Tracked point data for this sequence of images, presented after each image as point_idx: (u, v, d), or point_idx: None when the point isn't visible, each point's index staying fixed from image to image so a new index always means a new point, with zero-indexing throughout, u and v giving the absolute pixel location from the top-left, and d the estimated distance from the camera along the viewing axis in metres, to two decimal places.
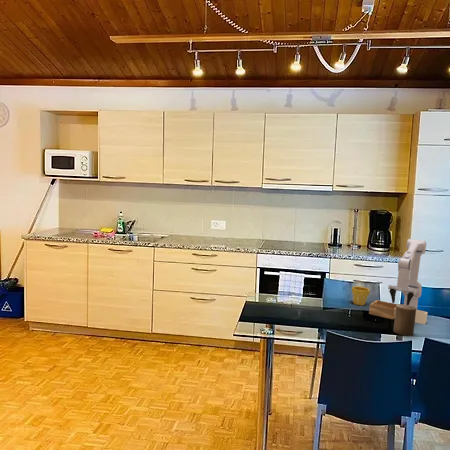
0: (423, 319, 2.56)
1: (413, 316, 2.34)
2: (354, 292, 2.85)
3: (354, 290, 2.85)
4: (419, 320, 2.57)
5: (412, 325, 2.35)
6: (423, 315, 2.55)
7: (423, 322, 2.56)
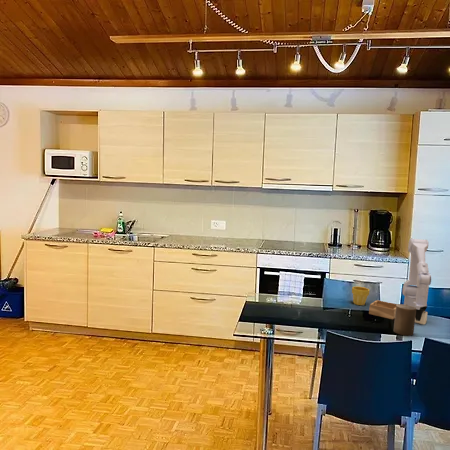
0: (423, 319, 2.56)
1: (413, 316, 2.34)
2: (354, 292, 2.85)
3: (354, 290, 2.85)
4: None
5: (412, 325, 2.35)
6: (423, 315, 2.55)
7: (423, 322, 2.56)
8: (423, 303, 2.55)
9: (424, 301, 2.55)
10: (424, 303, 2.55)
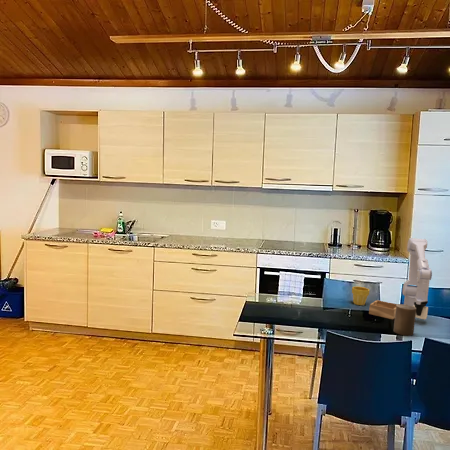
0: (424, 314, 2.55)
1: (413, 316, 2.34)
2: (354, 292, 2.85)
3: (354, 290, 2.85)
4: None
5: (412, 325, 2.35)
6: (424, 310, 2.55)
7: (424, 317, 2.55)
8: (424, 298, 2.55)
9: (425, 296, 2.55)
10: (425, 298, 2.55)
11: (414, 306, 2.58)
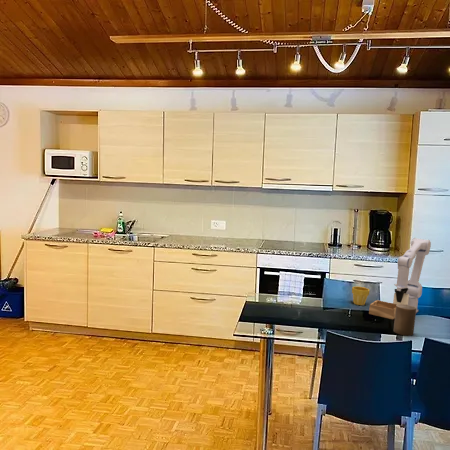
0: (405, 301, 2.61)
1: (413, 316, 2.34)
2: (354, 292, 2.85)
3: (354, 290, 2.85)
4: (401, 302, 2.62)
5: (412, 325, 2.35)
6: (405, 297, 2.60)
7: (405, 304, 2.61)
8: (404, 285, 2.61)
9: (405, 283, 2.60)
10: (405, 285, 2.61)
11: (395, 293, 2.63)
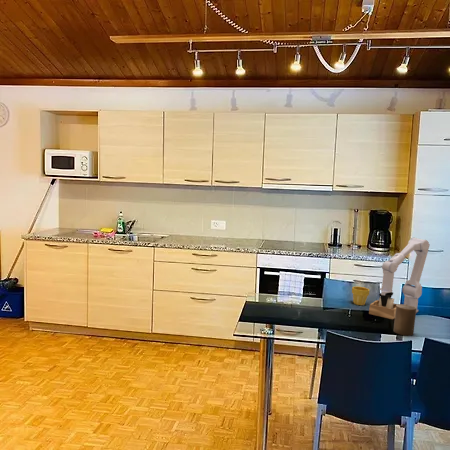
0: (389, 305, 2.65)
1: (413, 316, 2.34)
2: (354, 292, 2.85)
3: (354, 290, 2.85)
4: (386, 306, 2.67)
5: (412, 325, 2.35)
6: (389, 301, 2.65)
7: None
8: (388, 289, 2.65)
9: (389, 287, 2.65)
10: (389, 289, 2.66)
11: None
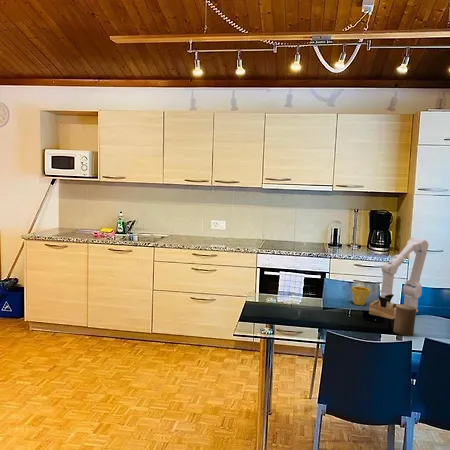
0: None
1: (413, 316, 2.34)
2: (354, 292, 2.85)
3: (354, 290, 2.85)
4: None
5: (412, 325, 2.35)
6: (389, 305, 2.66)
7: None
8: (388, 291, 2.66)
9: (389, 290, 2.66)
10: (389, 291, 2.66)
11: None
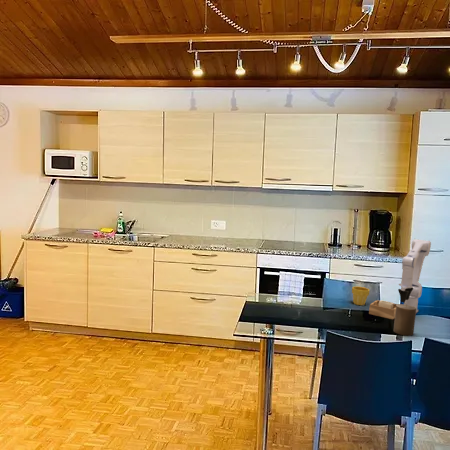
0: None
1: (413, 316, 2.34)
2: (354, 292, 2.85)
3: (354, 290, 2.85)
4: None
5: (412, 325, 2.35)
6: (389, 305, 2.66)
7: None
8: (408, 285, 2.62)
9: (409, 283, 2.62)
10: (409, 285, 2.62)
11: (380, 302, 2.68)
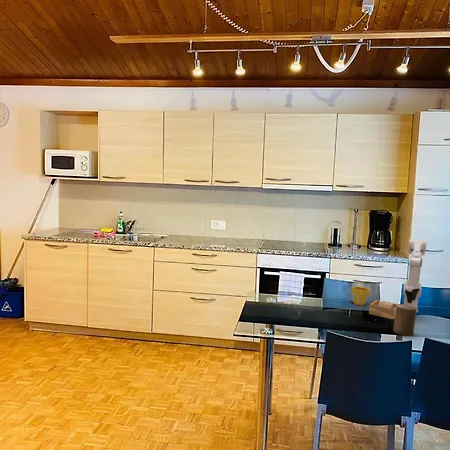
0: None
1: (413, 316, 2.34)
2: (354, 292, 2.85)
3: (354, 290, 2.85)
4: None
5: (412, 325, 2.35)
6: (389, 305, 2.66)
7: None
8: (415, 285, 2.61)
9: (416, 283, 2.61)
10: (416, 285, 2.61)
11: (380, 302, 2.68)
